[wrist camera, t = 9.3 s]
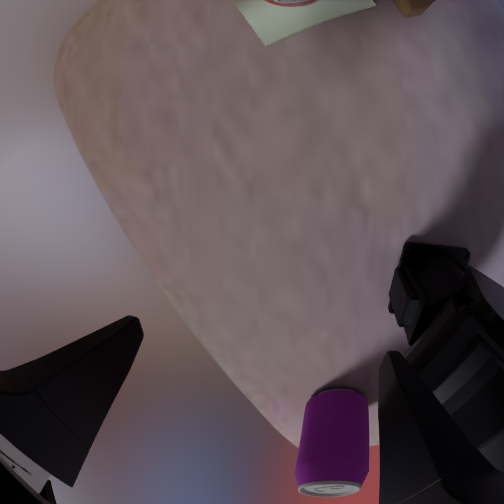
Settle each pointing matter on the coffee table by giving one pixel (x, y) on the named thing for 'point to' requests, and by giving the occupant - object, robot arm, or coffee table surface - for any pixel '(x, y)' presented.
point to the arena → (309, 15)
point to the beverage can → (334, 444)
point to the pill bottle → (291, 3)
